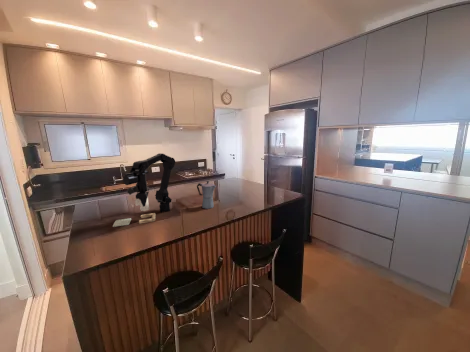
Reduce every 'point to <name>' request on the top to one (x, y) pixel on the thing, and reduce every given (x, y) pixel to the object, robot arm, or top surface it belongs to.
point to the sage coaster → (122, 222)
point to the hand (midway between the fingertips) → (144, 205)
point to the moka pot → (207, 194)
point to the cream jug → (145, 208)
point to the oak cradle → (147, 219)
